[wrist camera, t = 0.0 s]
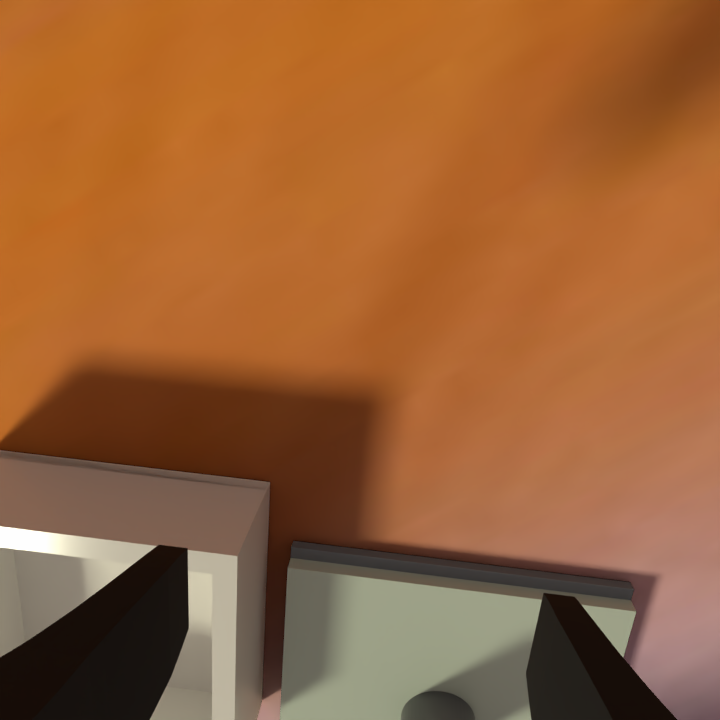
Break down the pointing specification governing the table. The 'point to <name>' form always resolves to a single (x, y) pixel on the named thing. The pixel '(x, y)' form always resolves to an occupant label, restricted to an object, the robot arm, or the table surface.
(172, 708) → the dish
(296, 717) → the lid
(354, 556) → the mat
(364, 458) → the table surface
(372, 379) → the table surface
